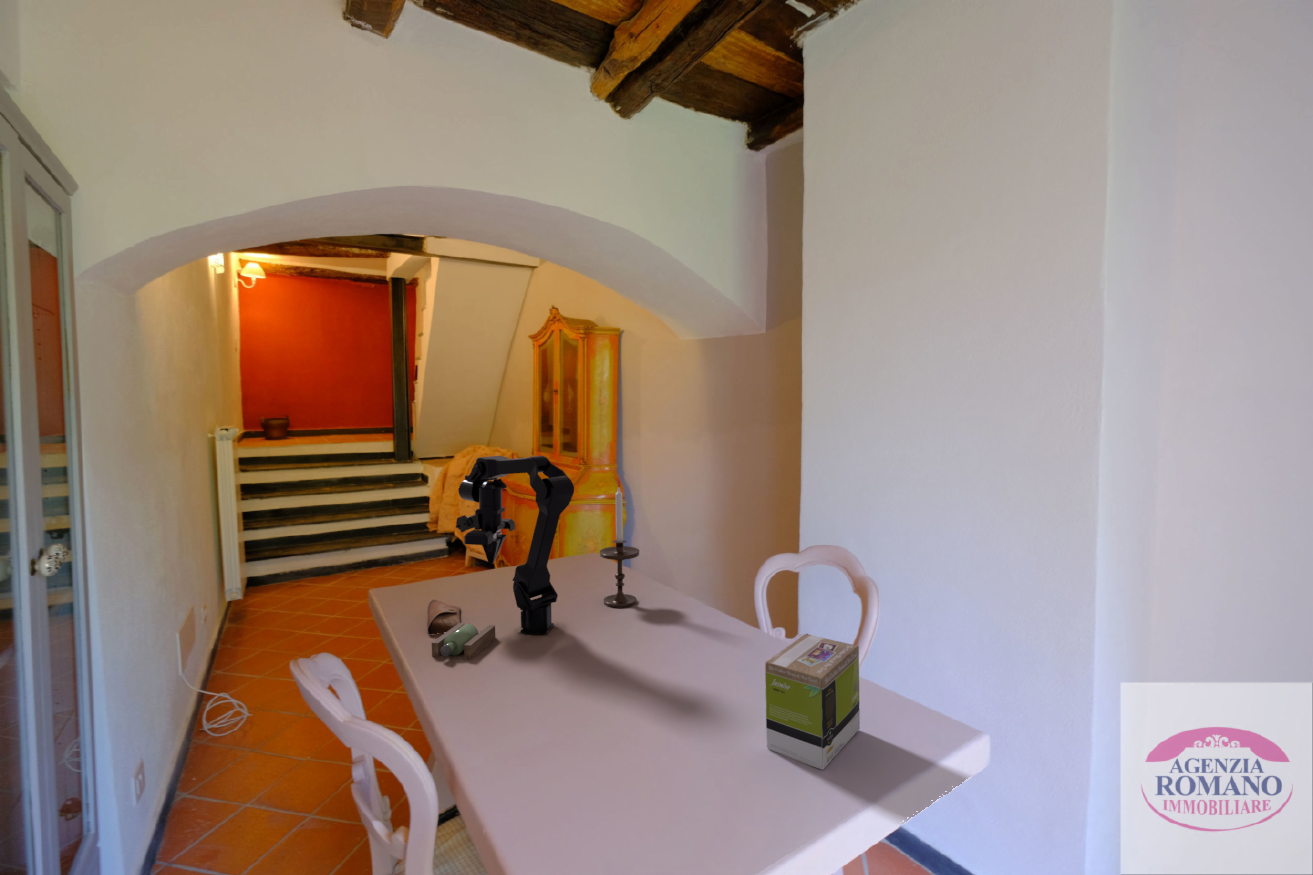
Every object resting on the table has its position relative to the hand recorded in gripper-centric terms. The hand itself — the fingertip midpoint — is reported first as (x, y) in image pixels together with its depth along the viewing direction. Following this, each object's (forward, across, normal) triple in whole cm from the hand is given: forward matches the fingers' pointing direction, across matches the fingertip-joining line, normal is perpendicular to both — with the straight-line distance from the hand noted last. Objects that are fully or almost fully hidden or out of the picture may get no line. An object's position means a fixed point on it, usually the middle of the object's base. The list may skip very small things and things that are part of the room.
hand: (491, 563), depth 160 cm
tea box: (+12, +49, +78) cm, 93 cm away
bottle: (+11, +19, +3) cm, 22 cm away
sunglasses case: (+14, +6, -10) cm, 18 cm away
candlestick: (+13, -13, +32) cm, 37 cm away
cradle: (+13, +21, +3) cm, 25 cm away
